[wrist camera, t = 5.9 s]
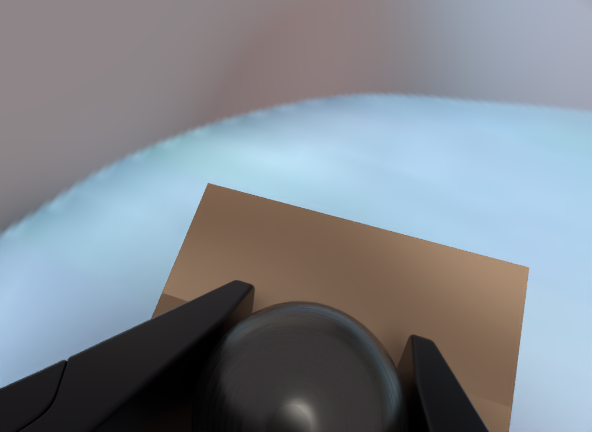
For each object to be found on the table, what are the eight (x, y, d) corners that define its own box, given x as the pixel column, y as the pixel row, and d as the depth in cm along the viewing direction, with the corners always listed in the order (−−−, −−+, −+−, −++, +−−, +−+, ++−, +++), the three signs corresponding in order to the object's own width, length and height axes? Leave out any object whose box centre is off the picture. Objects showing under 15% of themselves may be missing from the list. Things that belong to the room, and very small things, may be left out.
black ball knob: (384, 513, 11) (544, 1000, 3) (204, 441, 13) (-74, 636, 4) (424, 317, 13) (596, 251, 5) (263, 269, 14) (160, 144, 6)
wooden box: (405, 550, 12) (471, 730, 6) (175, 456, 13) (61, 532, 8) (450, 301, 14) (528, 267, 9) (252, 243, 16) (208, 183, 10)
